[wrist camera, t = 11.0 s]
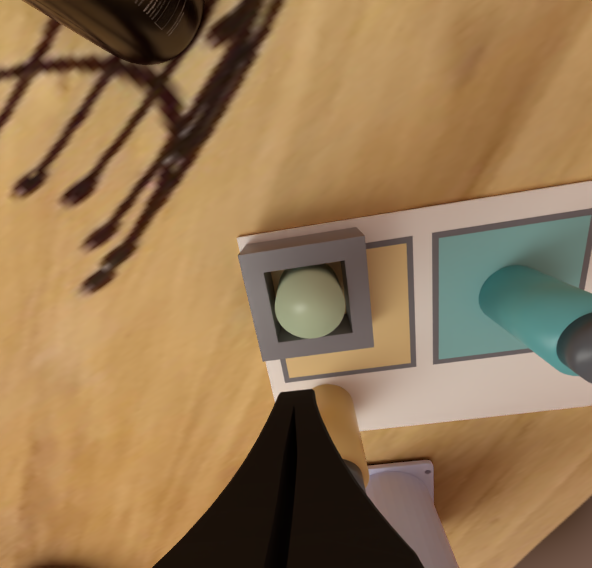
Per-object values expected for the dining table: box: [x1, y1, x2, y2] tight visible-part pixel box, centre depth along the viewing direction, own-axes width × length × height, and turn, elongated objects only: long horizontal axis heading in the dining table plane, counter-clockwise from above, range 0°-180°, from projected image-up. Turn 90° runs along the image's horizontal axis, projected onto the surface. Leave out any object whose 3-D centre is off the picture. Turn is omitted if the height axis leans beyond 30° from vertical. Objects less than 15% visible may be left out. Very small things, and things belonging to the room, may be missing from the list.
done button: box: [275, 263, 345, 339], centre depth 19 cm, size 4×4×3 cm
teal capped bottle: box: [479, 265, 592, 383], centre depth 17 cm, size 4×4×7 cm
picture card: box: [237, 180, 592, 431], centre depth 21 cm, size 17×24×1 cm
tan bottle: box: [312, 384, 369, 493], centre depth 20 cm, size 4×4×7 cm
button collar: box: [238, 227, 374, 362], centre depth 19 cm, size 7×7×3 cm
